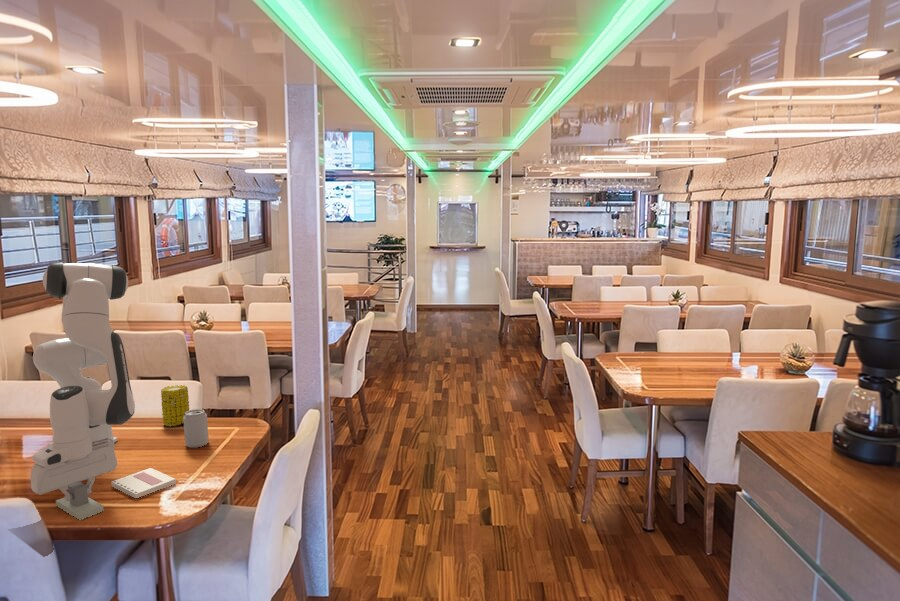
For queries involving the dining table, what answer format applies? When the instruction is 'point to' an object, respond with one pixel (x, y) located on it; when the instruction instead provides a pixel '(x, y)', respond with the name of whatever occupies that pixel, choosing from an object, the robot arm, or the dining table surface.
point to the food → (174, 404)
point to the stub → (79, 502)
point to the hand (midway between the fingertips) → (78, 496)
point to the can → (195, 428)
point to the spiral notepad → (143, 482)
